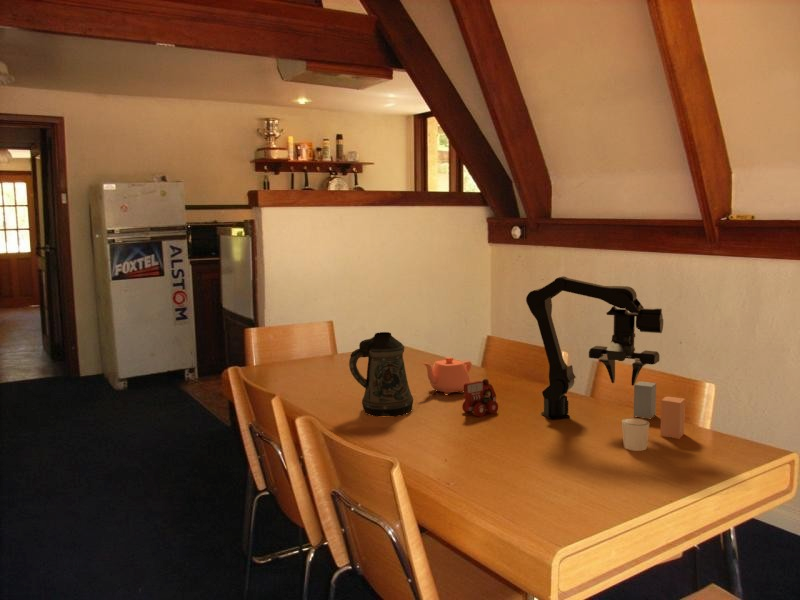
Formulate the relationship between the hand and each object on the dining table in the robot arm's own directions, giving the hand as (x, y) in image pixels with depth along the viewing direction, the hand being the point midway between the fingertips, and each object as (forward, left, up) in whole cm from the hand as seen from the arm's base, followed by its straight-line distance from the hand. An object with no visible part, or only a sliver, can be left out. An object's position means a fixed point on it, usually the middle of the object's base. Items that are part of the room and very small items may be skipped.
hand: (622, 384), depth 196 cm
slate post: (+11, +5, -12) cm, 17 cm away
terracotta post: (+8, -13, -12) cm, 19 cm away
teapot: (-35, +53, -12) cm, 65 cm away
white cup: (-8, -18, -12) cm, 23 cm away
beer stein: (-62, +37, -12) cm, 73 cm away
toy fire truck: (-34, +25, -12) cm, 44 cm away
